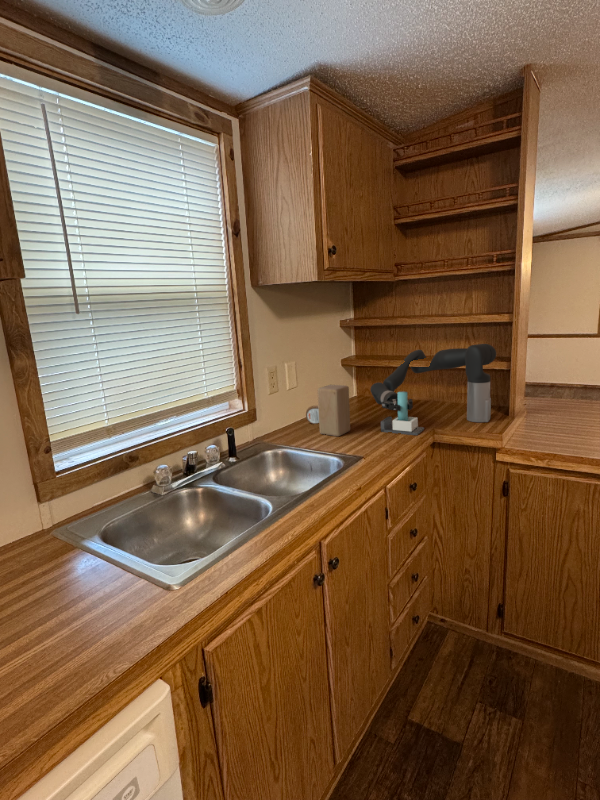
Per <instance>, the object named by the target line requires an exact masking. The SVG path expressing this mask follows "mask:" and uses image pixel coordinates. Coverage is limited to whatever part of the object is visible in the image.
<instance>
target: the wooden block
mask: <svg viewBox="0 0 600 800" xmlns="http://www.w3.org/2000/svg"><path fill="white" fill-rule="evenodd" d="M349 389H350V388H349V386H348V385H344V384H343V385H342V384H328V385H324V386H321V387H318V388H317V403H318V404H317V406H318V409H319V424H318V425H319V426H318V427H319V433H320V434H321V435H325V434H326V436H332V437H333V436H334V437H340V436H343V435H345V434H347V433H348V432H350V431H351V413H350V411H351V410H350V390H349Z"/></svg>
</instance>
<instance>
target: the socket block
mask: <svg viewBox="0 0 600 800" xmlns="http://www.w3.org/2000/svg"><path fill="white" fill-rule="evenodd" d="M418 418H419V417H416V416H408V421H400V420H398V416H397V417H395V418H394V419H392V425H393V430H400V431H410V432H412V431H413V430H414V429H415V428H417V427H419V420H418Z"/></svg>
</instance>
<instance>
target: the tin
mask: <svg viewBox="0 0 600 800" xmlns="http://www.w3.org/2000/svg"><path fill="white" fill-rule="evenodd" d="M305 419H306V420H307V421H308V423H311V424H313V425H319V424H318V423H319V409H318V405H311V406H309V407H308V408H307V409H306V412H305Z"/></svg>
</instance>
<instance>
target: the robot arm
mask: <svg viewBox="0 0 600 800" xmlns="http://www.w3.org/2000/svg"><path fill="white" fill-rule="evenodd" d="M496 357H497V351H496V349H495V347H494V346H492V345H491V344H488V343H477V344H472V345H470V346H468V347H467V348H448V349H441V350H438V351H437V352H436V353H435V354H434V355H433V357H432V359H431V360H430V362H431V363H430V366H429V367H410V366H409V364H410V362H411V361H413V360H418V359H424V358H427V357H426V354H425V352H424V351H423V350H422V349H415V350H413V351H412V352H410V353H409V354H407V356H406V357H405V358H404V359H403V360H404V361H405V362H404V363H403V364H401V363H400V364H401V365H400V364H399V365H400V366H397V368H396V369H395V370H394V371H393V372H392V373H390V375H388V376H387V377H386V378H385V379H384V380H383V382H375V383H373V384H372V385H371V386H370V389H369V390H370V393H371V395H372V397H373V399H374V400H375V402H376V404H377V405H381V407H382V408H383V409H387V410H391V411H397V412H398V411H401V406H400V405H398V392H395V391H396V390H397V389H398V388H399V387H400V386H401V385H403V383H404V381H405V380H406V376H407V373H408V370H409V367H410V369H411V371H412V372H413V373H414V374H422V373H427V372H430V371H437V370H438V371H439V370H449V369H456V368H460V367H465V374H466V378H467V392H466V396H467V397H466V398H467V399H466V402H467V403H466V420H467V421H469V422H473V423H488V422H490V420H491V413H492V412H491V411H492V410H491V409H492V408H491V407H492V406H491V405H492V404H491V403H492V398H491V375H490V374H489V373H486V372H485V371H484V366H487V365H489V364H491V363H493V362H494V360H495V359H496ZM413 403H414V402H413V399H412V398H409V399H408V411H411V410H412V409H413V407H414V406H413Z"/></svg>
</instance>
